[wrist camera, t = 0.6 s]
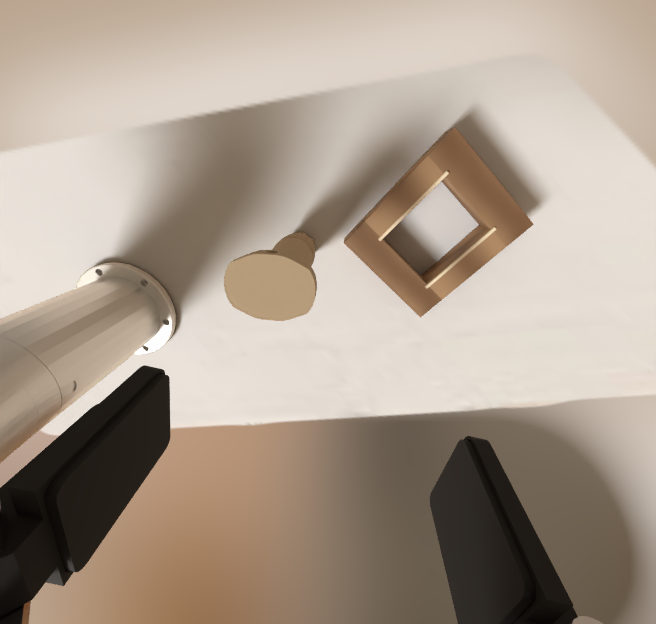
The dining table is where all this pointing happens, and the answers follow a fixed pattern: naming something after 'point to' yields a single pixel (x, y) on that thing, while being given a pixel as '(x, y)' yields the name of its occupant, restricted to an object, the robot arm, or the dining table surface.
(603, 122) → the dining table surface
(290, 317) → the handle
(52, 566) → the robot arm
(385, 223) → the wooden frame
